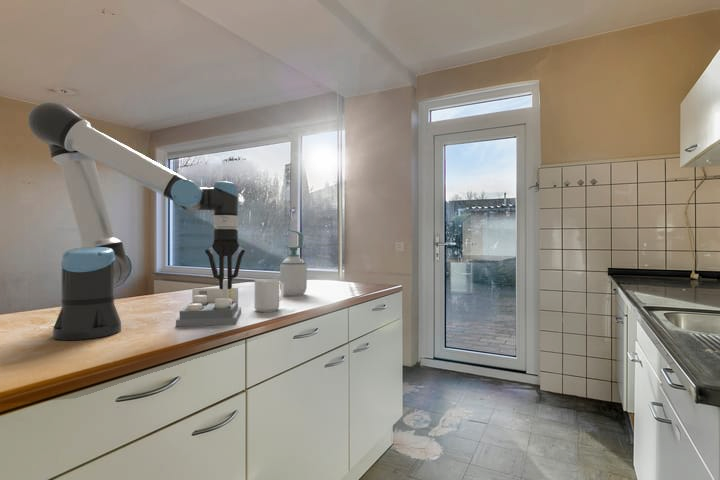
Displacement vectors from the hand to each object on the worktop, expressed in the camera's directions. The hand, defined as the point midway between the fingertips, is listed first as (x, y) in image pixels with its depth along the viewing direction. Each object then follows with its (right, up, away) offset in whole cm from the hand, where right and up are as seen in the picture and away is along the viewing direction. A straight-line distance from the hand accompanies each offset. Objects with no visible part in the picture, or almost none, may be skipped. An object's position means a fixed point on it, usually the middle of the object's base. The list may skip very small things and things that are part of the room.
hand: (225, 298), depth 125 cm
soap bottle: (+14, -6, +51) cm, 53 cm away
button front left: (-6, -3, -10) cm, 12 cm away
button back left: (-8, -2, -2) cm, 8 cm away
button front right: (+2, -2, -8) cm, 8 cm away
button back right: (0, -3, 0) cm, 3 cm away
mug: (+12, -6, +14) cm, 19 cm away
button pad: (-3, -6, -3) cm, 8 cm away
